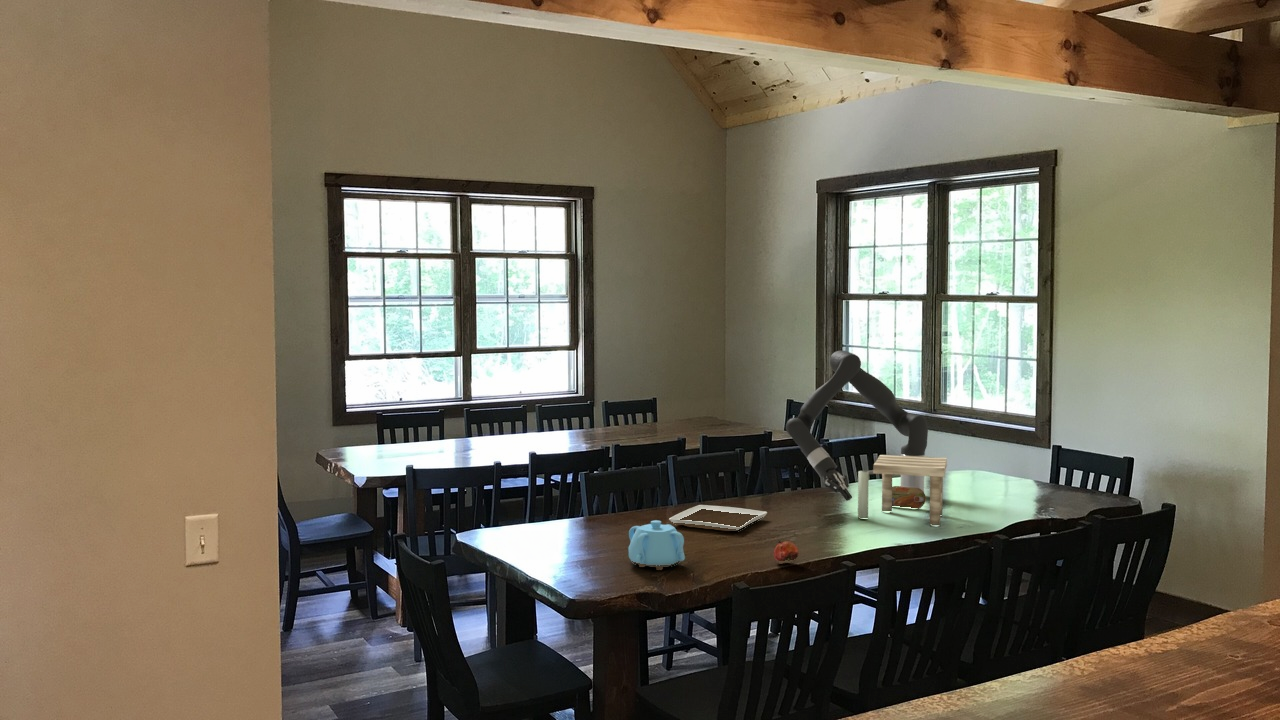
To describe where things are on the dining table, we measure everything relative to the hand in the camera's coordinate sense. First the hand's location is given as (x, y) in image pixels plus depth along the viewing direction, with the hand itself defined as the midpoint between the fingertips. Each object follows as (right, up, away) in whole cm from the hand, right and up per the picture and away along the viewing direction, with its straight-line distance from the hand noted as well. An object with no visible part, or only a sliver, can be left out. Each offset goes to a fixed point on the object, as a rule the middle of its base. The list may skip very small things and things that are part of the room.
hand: (849, 499), depth 378 cm
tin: (+24, -5, +13) cm, 28 cm away
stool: (+21, -6, -6) cm, 22 cm away
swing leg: (+8, -6, -4) cm, 11 cm away
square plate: (-49, -8, -12) cm, 51 cm away
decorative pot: (-72, -11, -68) cm, 100 cm away
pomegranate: (-33, -11, -68) cm, 76 cm away
